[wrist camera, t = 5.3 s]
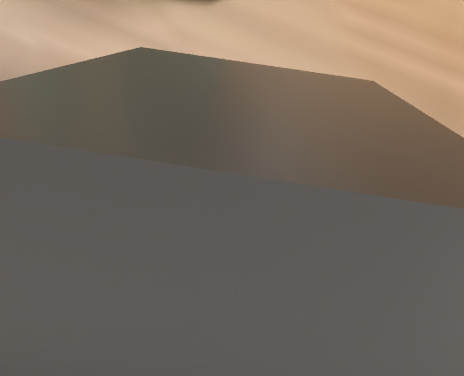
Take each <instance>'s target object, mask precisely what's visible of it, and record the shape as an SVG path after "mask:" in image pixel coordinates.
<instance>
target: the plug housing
mask: <svg viewBox="0 0 464 376" xmlns="http://www.w3.org/2000/svg"><path fill="white" fill-rule="evenodd" d="M0 376H464V138H463V137H461V136H460V135H458V134H457V133H455V132H453V131H452V130H450V129H449V128H447V127H445V126H444V125H442V124H441V123H439V122H437V121H436V120H434V119H433V118H431V117H430V116H428V115H426V114H425V113H423V112H422V111H420V110H418V109H417V108H415V107H414V106H412V105H410V104H409V103H407V102H406V101H404V100H402V99H401V98H399V97H398V96H396V95H394V94H393V93H391V92H390V91H388V90H387V89H385V88H383V87H382V86H380V85H379V84H377V83H375V82H374V81H369V80H363V79H356V78H349V77H342V76H335V75H328V74H321V73H315V72H308V71H301V70H294V69H287V68H280V67H273V66H266V65H260V64H253V63H246V62H239V61H232V60H225V59H218V58H211V57H205V56H198V55H191V54H184V53H177V52H170V51H163V50H157V49H150V48H143V47H140V48H136V49H132V50H127V51H123V52H119V53H115V54H111V55H107V56H103V57H99V58H95V59H91V60H87V61H83V62H79V63H75V64H70V65H66V66H62V67H58V68H54V69H50V70H46V71H42V72H38V73H34V74H30V75H26V76H22V77H18V78H14V79H9V80H5V81H1V82H0Z"/></svg>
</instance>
